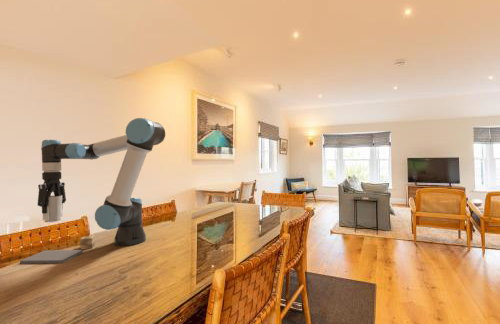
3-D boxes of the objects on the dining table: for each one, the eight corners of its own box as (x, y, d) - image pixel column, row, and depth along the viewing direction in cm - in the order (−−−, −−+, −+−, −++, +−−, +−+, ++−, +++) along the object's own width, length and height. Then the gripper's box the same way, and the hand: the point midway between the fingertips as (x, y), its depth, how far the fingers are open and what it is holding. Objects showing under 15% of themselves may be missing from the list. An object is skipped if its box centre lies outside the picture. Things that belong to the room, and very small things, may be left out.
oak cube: (94, 245, 134) (94, 235, 134) (92, 248, 129) (92, 238, 129) (83, 246, 132) (83, 236, 132) (80, 249, 128) (80, 239, 128)
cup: (51, 222, 125) (51, 197, 125) (38, 222, 126) (37, 197, 126) (66, 219, 132) (66, 195, 132) (53, 218, 134) (53, 195, 134)
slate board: (82, 252, 123) (82, 250, 123) (62, 263, 110) (61, 260, 110) (45, 252, 123) (45, 250, 123) (20, 263, 110) (20, 260, 110)
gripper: (60, 171, 140) (61, 214, 140) (26, 172, 119) (27, 223, 119) (73, 170, 139) (74, 214, 139) (42, 172, 119) (43, 222, 119)
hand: (52, 218), depth 129 cm, fingers closed on cup, 7 cm apart
